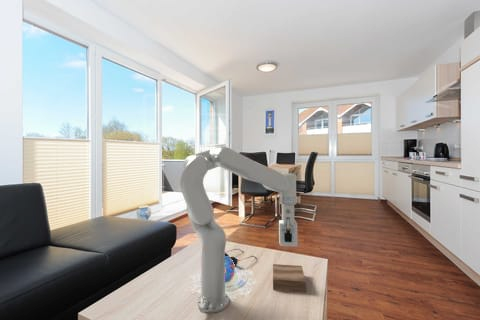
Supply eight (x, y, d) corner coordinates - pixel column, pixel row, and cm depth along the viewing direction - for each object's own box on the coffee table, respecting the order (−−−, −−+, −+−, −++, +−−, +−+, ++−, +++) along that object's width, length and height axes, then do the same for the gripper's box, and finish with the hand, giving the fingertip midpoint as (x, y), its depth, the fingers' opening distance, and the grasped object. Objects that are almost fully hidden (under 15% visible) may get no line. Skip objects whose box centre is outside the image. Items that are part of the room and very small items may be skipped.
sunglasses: (221, 260, 128) (221, 251, 128) (242, 253, 139) (242, 245, 139) (237, 269, 118) (237, 259, 118) (258, 261, 129) (258, 252, 129)
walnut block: (305, 293, 97) (305, 281, 97) (273, 290, 99) (272, 279, 99) (301, 275, 111) (301, 265, 111) (273, 273, 113) (273, 264, 113)
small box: (295, 242, 107) (295, 220, 107) (297, 246, 101) (297, 223, 101) (278, 241, 108) (278, 219, 108) (279, 246, 102) (279, 223, 102)
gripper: (297, 204, 95) (297, 247, 95) (295, 197, 112) (295, 233, 112) (279, 204, 96) (279, 245, 97) (279, 196, 113) (280, 232, 114)
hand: (288, 238), depth 105 cm, fingers closed on small box, 5 cm apart
